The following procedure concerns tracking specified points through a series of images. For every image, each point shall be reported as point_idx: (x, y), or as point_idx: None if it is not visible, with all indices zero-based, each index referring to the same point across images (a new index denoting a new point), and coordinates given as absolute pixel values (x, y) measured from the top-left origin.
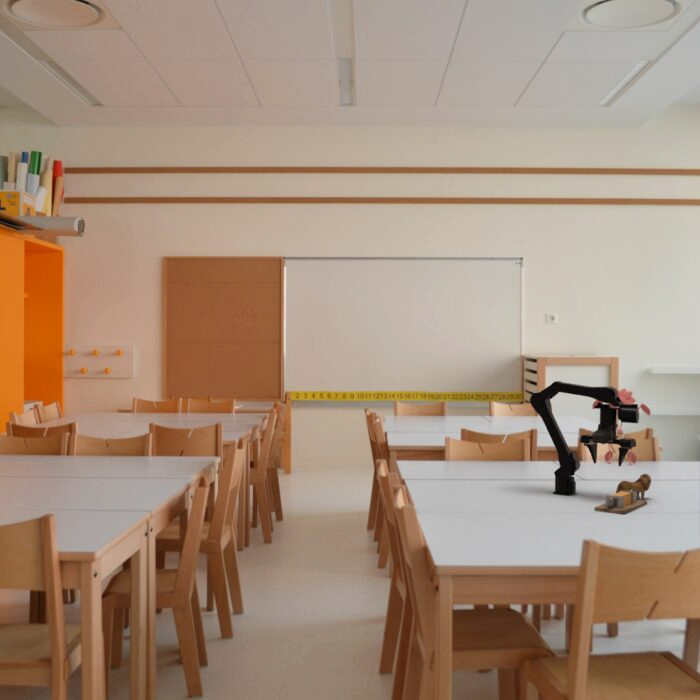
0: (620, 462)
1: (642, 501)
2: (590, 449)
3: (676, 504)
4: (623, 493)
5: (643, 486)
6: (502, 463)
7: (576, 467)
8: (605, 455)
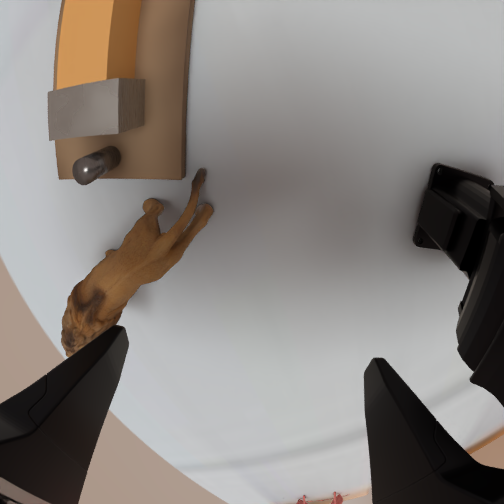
0: (86, 345)
1: (68, 161)
2: (458, 464)
3: (22, 241)
4: (79, 33)
5: (80, 282)
6: (496, 426)
7: (498, 250)
8: (341, 501)
